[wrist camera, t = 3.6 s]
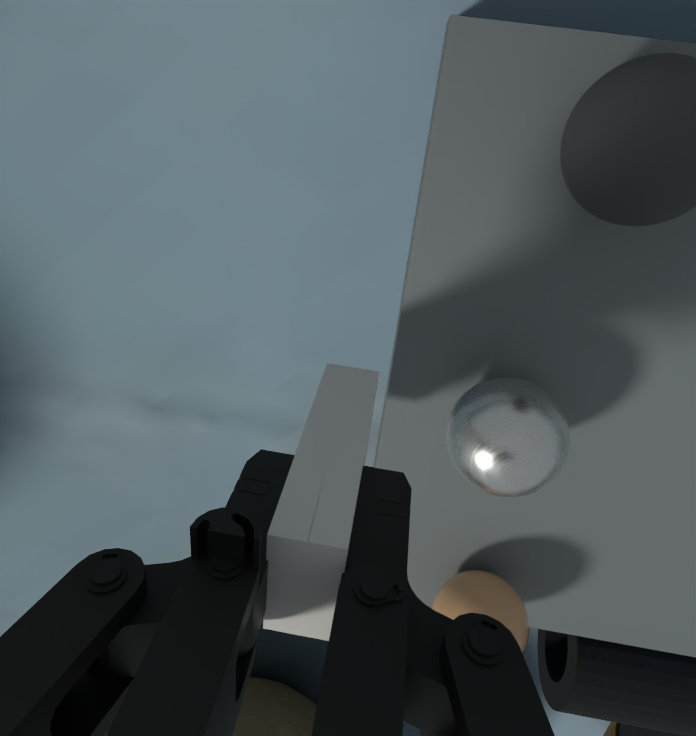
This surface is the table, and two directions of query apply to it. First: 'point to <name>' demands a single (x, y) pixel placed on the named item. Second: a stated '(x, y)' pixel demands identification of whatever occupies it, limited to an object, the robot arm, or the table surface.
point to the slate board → (547, 349)
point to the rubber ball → (635, 142)
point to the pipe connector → (619, 684)
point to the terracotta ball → (484, 601)
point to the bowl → (274, 711)
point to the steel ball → (507, 437)
